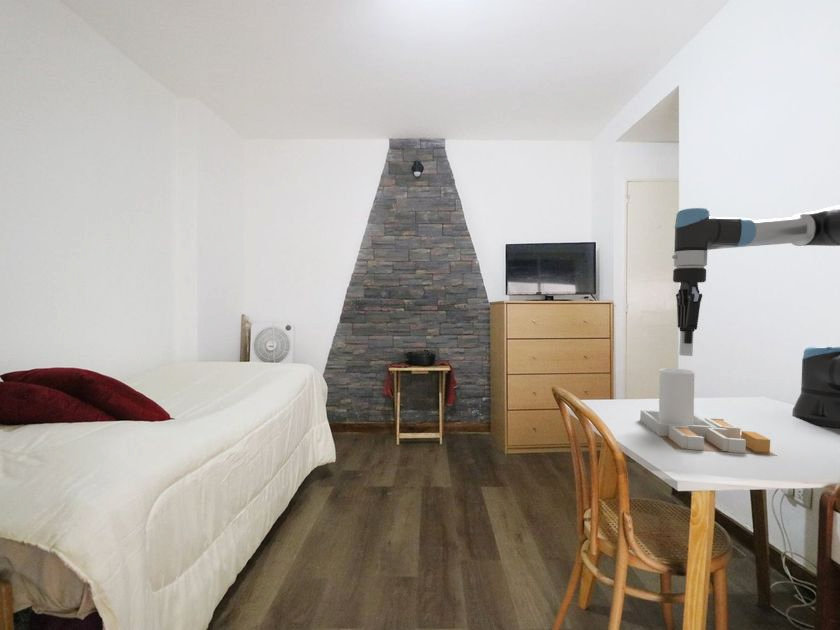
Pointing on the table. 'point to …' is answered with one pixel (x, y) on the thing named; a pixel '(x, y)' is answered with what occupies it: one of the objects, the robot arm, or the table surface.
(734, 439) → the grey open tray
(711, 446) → the panel
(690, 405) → the cup
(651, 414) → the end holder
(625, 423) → the table surface
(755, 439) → the block
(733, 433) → the side clips
